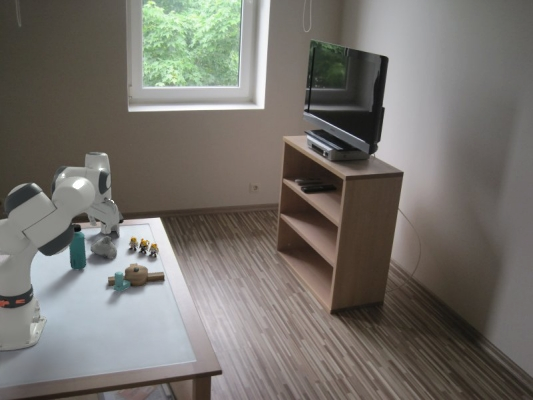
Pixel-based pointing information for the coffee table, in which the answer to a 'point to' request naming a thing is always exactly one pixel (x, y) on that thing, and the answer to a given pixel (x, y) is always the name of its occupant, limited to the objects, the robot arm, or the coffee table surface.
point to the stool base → (138, 276)
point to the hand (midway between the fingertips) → (100, 228)
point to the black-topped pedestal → (114, 227)
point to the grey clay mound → (104, 248)
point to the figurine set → (144, 246)
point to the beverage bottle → (78, 249)
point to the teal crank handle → (120, 282)
